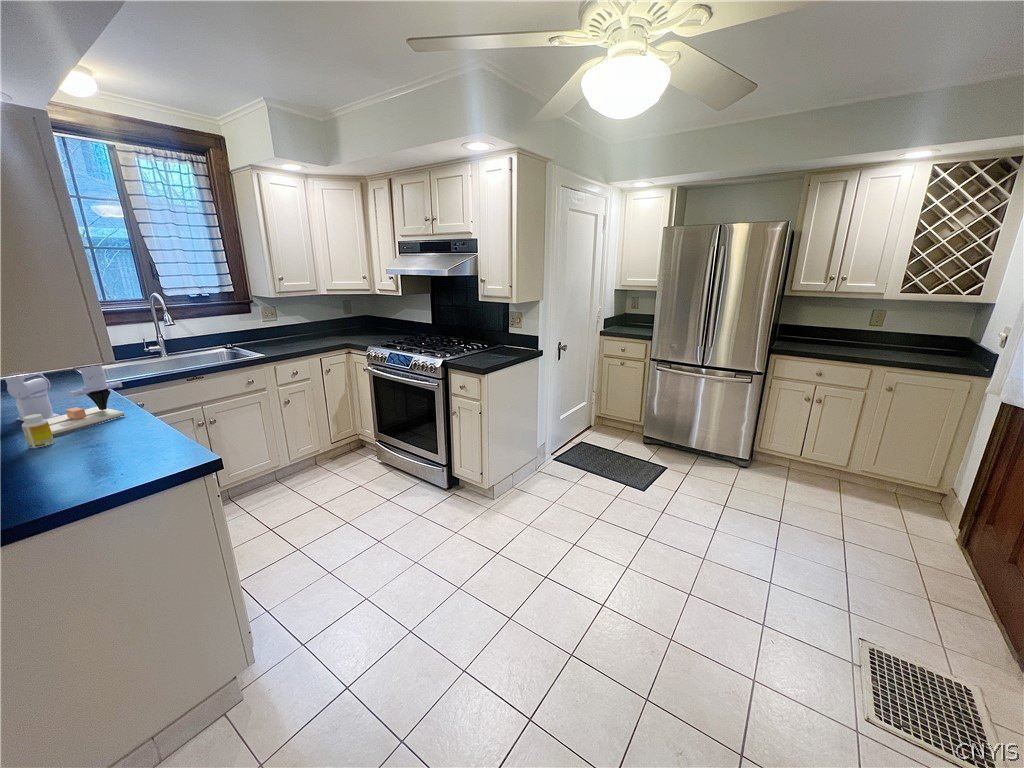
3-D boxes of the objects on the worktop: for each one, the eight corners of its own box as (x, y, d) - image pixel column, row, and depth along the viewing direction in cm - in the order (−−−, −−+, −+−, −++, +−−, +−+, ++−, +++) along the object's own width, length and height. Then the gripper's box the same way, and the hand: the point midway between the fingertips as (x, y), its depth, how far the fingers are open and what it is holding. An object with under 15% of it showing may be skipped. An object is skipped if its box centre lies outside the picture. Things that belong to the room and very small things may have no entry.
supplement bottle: (60, 441, 134) (50, 412, 131) (43, 449, 129) (33, 419, 126) (41, 441, 134) (31, 413, 131) (23, 449, 129) (13, 419, 126)
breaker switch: (68, 419, 148) (65, 409, 147) (79, 417, 151) (76, 407, 150) (76, 422, 147) (73, 411, 145) (87, 419, 149) (84, 409, 148)
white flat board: (28, 429, 143) (26, 423, 142) (99, 410, 161) (98, 405, 160) (54, 436, 138) (52, 431, 137) (125, 416, 156) (123, 411, 155)
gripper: (74, 381, 143) (84, 417, 147) (123, 372, 157) (132, 404, 161) (62, 379, 146) (73, 414, 150) (112, 369, 159) (120, 402, 163)
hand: (102, 409), depth 155 cm, fingers closed
